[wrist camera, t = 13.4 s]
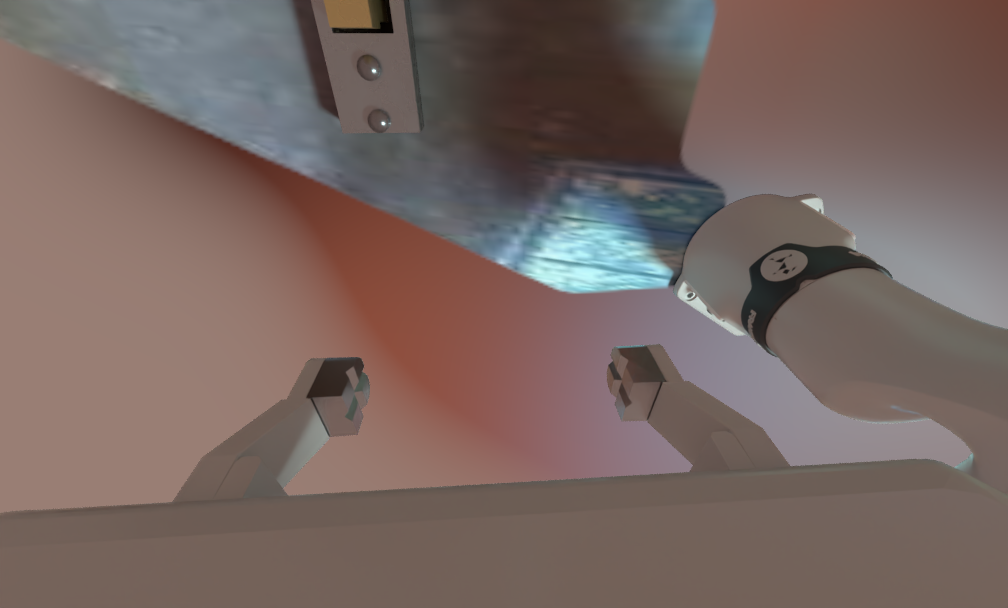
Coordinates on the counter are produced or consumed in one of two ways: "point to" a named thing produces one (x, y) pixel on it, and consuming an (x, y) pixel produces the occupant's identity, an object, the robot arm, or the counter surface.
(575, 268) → the counter surface
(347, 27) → the tan bridge block
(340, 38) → the gray windowed bar
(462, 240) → the counter surface
